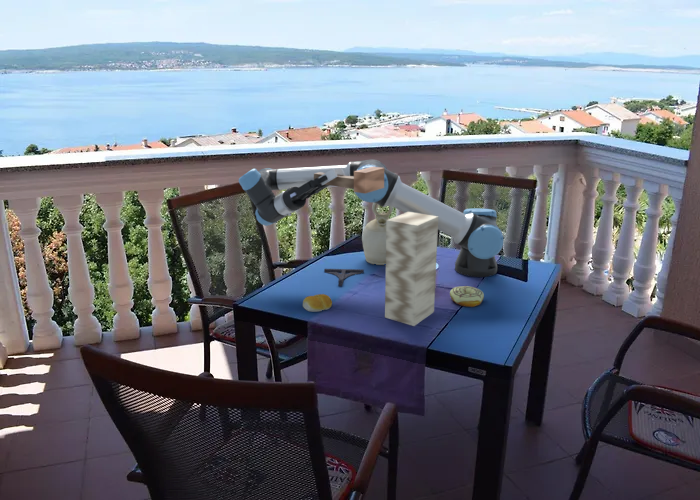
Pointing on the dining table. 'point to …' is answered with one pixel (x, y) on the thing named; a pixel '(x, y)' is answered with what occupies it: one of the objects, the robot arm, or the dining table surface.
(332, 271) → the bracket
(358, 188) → the wooden mallet
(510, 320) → the dining table surface
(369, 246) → the jug
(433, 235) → the stand
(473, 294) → the decorated donut
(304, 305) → the bread roll
